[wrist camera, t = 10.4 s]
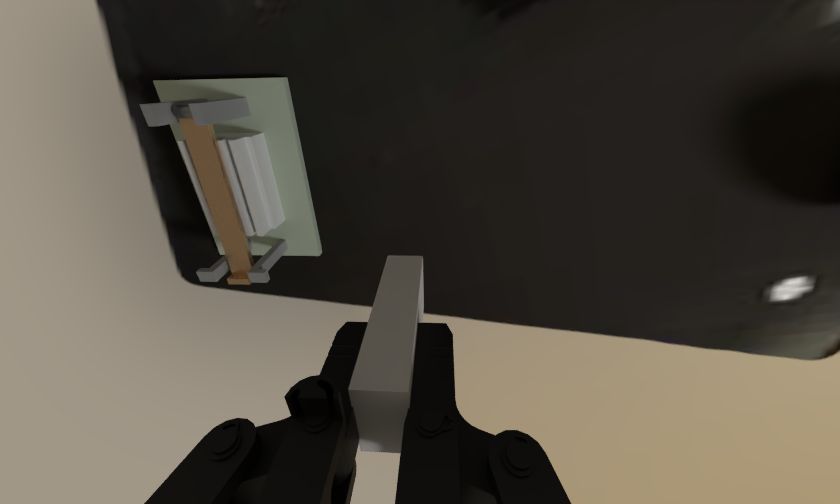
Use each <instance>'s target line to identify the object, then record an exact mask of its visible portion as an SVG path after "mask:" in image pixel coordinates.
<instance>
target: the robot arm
mask: <svg viewBox="0 0 840 504" xmlns="http://www.w3.org/2000/svg"><path fill="white" fill-rule="evenodd" d="M423 309H424V294H423V256H388V257H387V261H386V264H385V267H384V271H383V274H382V277H381V281H380V284H379V287H378V291H377V294H376V298H375V301H374V304H373V308H372V311H371V314H370V318H369V321H368V322H346V323H345V324H344V325H343V326H342V327H341V328H340V329H339V331H338V332H337V333H336V336H335V339H334V341H333V343H332V346H331V348H330V351H329V353H328V357H327V358H326V361H325V363H324V365H323V368H322V371H321V373H320V375H317V376H310V377H307V378H305V379H303V380H300V381H299V382H298V383H296V384H295V385H294V386H293V387H291V389H290V390H289V392H288V393H287V394H286V395H285V400H286V402H287V405H288V408H289V410H290V414H291V416H290V417H288V418H285V419H283V420H280V421H277V422H273V423H269V424H265V425H262V426H258V427H255V425H254V424H253V423H252V422H251V421H249V420H248V419H242V418H236V419H232V420H228V421H225V422H224V423H222V424H220V425H218V426H216V427H215V428H213V429H212V430H211V431H210V432H209V433H208V434H207V435H206V436H204V438H203V439H202V440H201V441H200V442H199V443H198V444H197V445H196V446H195V448H194V449H193V450H192V451H191V452H190V453H189V454H188V455H187V457H186V458H185V459H184V460H183V461H182V462H181V463H180V464H179V465H178V467H177V468H176V469H175V470H174V471H173V472H172V473H171V474H170V476H169V477H168V478H167V479H166V480H165V481H164V483H162V484H161V486H160V487H159V488H158V489H157V490H156V491H155V492H154V493H153V495H152V496H151V497H150V498H149V499H148V500H147V501H146V502H145V503H144V504H350V501H351V496H352V491H353V486H354V482H355V477H356V461H355V457H356V453H357V448H358V444H359V445H360V449H361V451H370V452H390V453H401V456H400V465H399V473H398V482H397V491H396V500H395V504H571V502H570V500H569V499H568V497H567V494H566V492H565V490H564V489H563V486H562V484H561V482H560V480H559V479H558V476H557V475H556V472H555V471H554V469H553V467H552V465H551V463H550V461H549V459H548V457H547V455H546V453H545V451H544V450H543V449H542V447H541V446H540V444H539V443H538V442H537V441H536V440H534V439H533V438H532V437H531V436H529V435H528V434H525V433H523V432H520V431H517V430H505V431H503V432H501V433H499V434H497V435H496V436H495V435H493V434H490V433H488V432H485V431H482V430H480V429H478V428H476V427H474V426H472V425H470V424H469V423H468V422H467V421H466V420H464V418H463V417H462V416H461V414H460V413H459V411H458V409H457V406H456V401H455V383H454V382H455V381H454V356H453V334H452V332H451V331H450V329H449V327H448V326H447V324H446V323H422V322H423Z"/></svg>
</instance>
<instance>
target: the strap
mask: <svg viewBox="0 0 840 504" xmlns="http://www.w3.org/2000/svg"><path fill="white" fill-rule="evenodd" d="M173 114H174V116H175V117H176V118H177V119H179V122H180V125H181V128H182V131H183V134H184V136H185V139H186V142H187V145H188V148H189V151H190V154H191V157H192V159H193V162H194V165H195V168H196V171H197V174H198V177H199V180H200V182H201V185H202V188H203V191H204V194H205V197H206V200H207V203H208V205H209V208H210V211H211V214H212V217H213V220H214V223H215V226H216V228H217V231H218V234H219V237H220V240H221V243H222V246H223V249H224V251H225V254H226V257H227V260H228V263H229V266H230V269H231V272H232V275H231V276H230V277H229V278H227V280H228V283H229V284H251V283H252V282H250V280H249V277H248V274H247V272H248V271H249V270H250V269H251V268H252V267H253V266H254V265H255V264H254V260H253V257H252V254H251V250H250V247H249V244H248V241H247V237H246V234H245V231H244V227H243V224H242V221H241V218H240V214H239V211H238V208H237V204H236V201H235V198H234V194H233V191H232V188H231V185H230V181H229V178H228V175H227V171H226V168H225V165H224V162H223V158H222V155H221V152H220V148H219V145H218V142H217V138H216V135H215V132H214V129H213V125H212V124H210V125H206V126H196V125H195V122H194V119H193V116H192V113H191V110H190V107H189V105H174V106H173Z"/></svg>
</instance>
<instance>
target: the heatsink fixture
mask: <svg viewBox="0 0 840 504" xmlns="http://www.w3.org/2000/svg"><path fill="white" fill-rule="evenodd" d="M153 83H154V85H155V88H156V90H157V93H158V96H159V98H160V101H161V102H159V103H149V104H140V107H141V109H142V112H143V114H144V116H145V119H146V121H147V124H148V126H162V125H167V124H170V126H171V129H172V132H173V134H174V137H175V139H176V142H177V144H178V147H179V150H180V152H181V155H182V157H183V160H184V163H185V165H186V168H187V170H188V173H189V175H190V178H191V181H192V183H193V186H194V188H195V191H196V193H197V196H198V199H199V201H200V204H201V206H202V209H203V211H204V214H205V217H206V219H207V222H208V224H209V227H210V229H211V232H212V235H213V237H214V240H215V242H216V245H217V247H218V250H219V253H220V255H225V256H224V257H222V258H221V259H220V260H219V261H218V262H216V263H215V264H214V265H213V266H212V267H210V268H200V269H199V270H198V271H196V272H197V275H198V277H199V279H200V281H209V282H217V281H218V280H219V279H220V278H221V277H222V276H223V275H225V274H226V273H227V272H228V271H229V270H230V266H229V263H228V260H227V257H226V254H225V251H224V249H223V246H222V243H221V240H220V237H219V234H218V231H217V228H216V226H215V223H214V220H213V217H212V214H211V211H210V208H209V205H208V203H207V200H206V197H205V194H204V191H203V188H202V185H201V182H200V180H199V177H198V174H197V171H196V168H195V165H194V162H193V159H192V157H191V154H190V151H189V148H188V145H187V142H186V139H185V136H184V134H183V131H182V128H181V125H180V122H179V119H177V118H176V117H175V116H174V114H173V106H174V105H189V107H190V110H191V113H192V116H193V119H194V122H195V125H196V126H206V125H210V124H212V125H213V129H214V132H215V135H216V138H217V142H218V145H219V148H220V152H221V155H222V158H223V162H224V165H225V168H226V171H227V175H228V178H229V181H230V185H231V188H232V191H233V194H234V198H235V201H236V204H237V208H238V211H239V214H240V218H241V221H242V224H243V227H244V231H245V234H246V237H247V241H248V244H249V247H250V250H251V254H252V255H264V256H263V257H262V258H261V259H260V260H259V261H258V262H257V263H256V264H255V265H254V266H253V267H252V268H251V269H250V270H249V271H248V272H247V274H248V277H249V280H250V282H260V283H267V282H268V281H269V280H270V278H269V275H268V270H269V269H270V268H271V267H272V266H273V265H274V264H275V262H276V261H277V260H278V259H279V258H280V257H281V256H282V255H292V256H320V255H321V253H322V248H321V243H320V238H319V233H318V228H317V223H316V218H315V213H314V208H313V203H312V199H311V194H310V189H309V184H308V179H307V174H306V169H305V164H304V159H303V154H302V149H301V144H300V139H299V134H298V129H297V124H296V119H295V114H294V109H293V104H292V99H291V94H290V89H289V84H288V79H287V77H286V78H243V79H200V80H157V81H153Z"/></svg>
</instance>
